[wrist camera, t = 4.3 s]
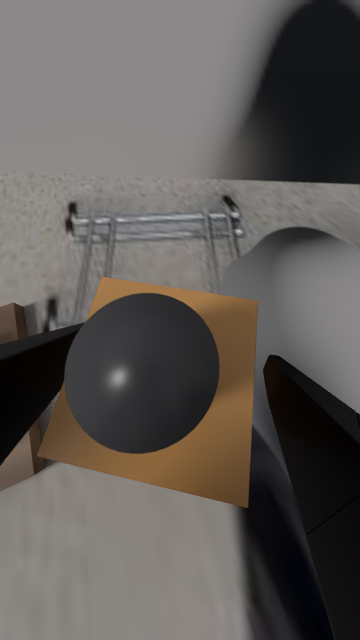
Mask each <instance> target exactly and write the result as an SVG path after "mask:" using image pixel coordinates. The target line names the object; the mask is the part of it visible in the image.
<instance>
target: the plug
mask: <svg viewBox="0 0 360 640" xmlns="http://www.w3.org/2000/svg"><path fill="white" fill-rule="evenodd" d="M257 311H258V301H257V300H251V299H244V298H238V297H231V296H224V295H218V294H211V293H205V292H198V291H192V290H185V289H178V288H172V287H165V286H159V285H152V284H145V283H139V282H132V281H126V280H119V279H112V278H106V277H102V279H101V281H100V284H99V287H98V290H97V292H96V295H95V298H94V301H93V303H92V306H91V309H90V311H89V314H88V317H87V320H86V322H85V323H84V325H83V326H82V327H81V329H80V330H79V332H78V333H77V335H76V337H75V338H74V340H73V343H72V345H71V347H70V350H69V353H68V356H67V360H66V365H65V375H64V383H63V385H62V388H61V391H60V393H59V396H58V399H57V402H56V404H55V407H54V410H53V413H52V415H51V418H50V421H49V423H48V426H47V429H46V432H45V434H44V437H43V440H42V443H41V445H40V448H39V451H38V454H37V456H38V457H42V458H46V459H50V460H54V461H58V462H62V463H67V464H71V465H75V466H79V467H83V468H87V469H91V470H95V471H99V472H103V473H107V474H111V475H115V476H120V477H124V478H128V479H132V480H136V481H140V482H144V483H148V484H152V485H156V486H160V487H164V488H168V489H173V490H177V491H181V492H185V493H189V494H193V495H197V496H201V497H205V498H209V499H213V500H217V501H221V502H226V503H230V504H234V505H238V506H242V507H246V508H248V493H249V473H250V453H251V433H252V412H253V391H254V371H255V352H256V331H257Z"/></svg>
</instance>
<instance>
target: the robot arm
mask: <svg viewBox="0 0 360 640" xmlns="http://www.w3.org/2000/svg"><path fill="white" fill-rule="evenodd" d="M84 323H85V322H84ZM84 323H81V324H77V325H73V326H69V327H65V328H61V329H57V330H53V331H49V332H45V333H41V334H38V335H34V336H30V337H26V338H22V339H18V340H14V341H10V342H6V343H3V344H0V466H1V465H2V463H3V462H4V461H5V459H6V458H7V457H8V456H9V454H10V453H11V452H12V451H13V449H14V448H15V447H16V446H17V444H18V443H19V442H20V440H21V439H22V438H23V437H24V435H25V434H26V433H27V432H28V430H29V429H30V428H31V427H32V425H33V424H34V423H35V421H36V420H37V419H38V418H39V416H40V415H41V414H42V413H43V411H44V410H45V409H46V408H47V406H48V405H49V404H50V402H51V401H52V400H53V399H54V397H55V396H56V395H57V394H58V392H59V391H60V390H61V388H62V385H63V383H64V375H65V365H66V360H67V356H68V353H69V350H70V347H71V345H72V343H73V340H74V338H75V337H76V335H77V333H78V332H79V330H80V329H81V327H82V326H83V325H84ZM263 374H264V380H265V386H266V393H267V398H268V403H269V406H270V410H271V414H272V417H273V421H274V424H275V428H276V431H277V435H278V438H279V442H280V445H281V449H282V453H283V456H284V460H285V464H286V467H287V471H288V474H289V478H290V481H291V485H292V488H293V492H294V496H295V499H296V503H297V506H298V510H299V513H300V517H301V520H302V524H303V527H304V531H305V534H306V535H307V536H306V539H307V542H308V546H309V549H310V553H311V556H312V560H313V564H314V567H315V571H316V574H317V578H318V581H319V585H320V588H321V592H322V596H323V599H324V603H325V606H326V610H327V613H328V617H329V620H330V624H331V628H332V631H333V635H334V638H335V640H360V414H359V413H356V412H355V411H354V410H353V409H352V408H350V407H349V406H347V405H346V404H345V403H343V402H342V401H340V400H339V399H338V398H336V397H335V396H333V395H332V394H331V393H330V392H328V391H327V390H325V389H324V388H323V387H321V386H320V385H319V384H317V383H316V382H314V381H313V380H312V379H310V378H309V377H307V376H306V375H304V374H303V373H302V372H301V371H299V370H298V369H296V368H295V367H294V366H292V365H291V364H289V363H288V362H287V361H285V360H284V359H283V358H281V357H280V356H277V355H269V356H268V358H267V361H266V363H265V366H264V369H263Z"/></svg>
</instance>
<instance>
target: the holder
mask: <svg viewBox="0 0 360 640" xmlns="http://www.w3.org/2000/svg"><path fill="white" fill-rule="evenodd" d="M26 337H27V333H26V325H25V318H24V311H23V307H22V306H20V305H18V304H16V303H11V304H8V305H5V306H3V307H0V344H3V343H6V342H10V341H14V340H18V339H22V338H26ZM41 443H42V442H41V435H40V428H39V420H38V419H37V420H36V421H35V423H34V424H33V425H32V427H31V428H30V429H29V430H28V432H27V433H26V434H25V435H24V437H23V438H22V439H21V440H20V442H19V443H18V444H17V446H16V447H15V448H14V449H13V451H12V452H11V453H10V454H9V456H8V457H7V458H6V459H5V461H4V462H3V463H2V465H1V466H0V490H2V489H5V488H7V487H9V486H11V485H13V484H15V483H18V482H20V481H22V480H24V479H26V478H29V477H31V476H33V475H35V474H36V473H38V472H39V471H41V470H43V469H44V468H45V464H44V458H42V457H38V456H37V454H38V451H39V448H40V445H41Z"/></svg>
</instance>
